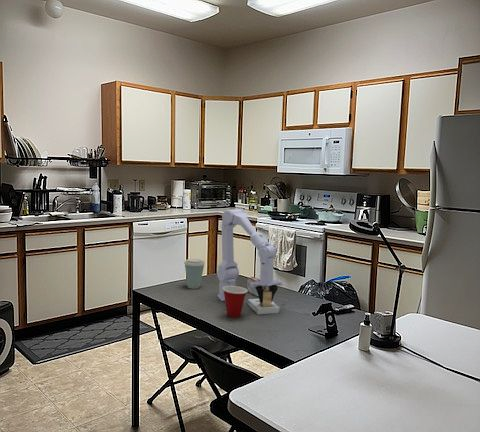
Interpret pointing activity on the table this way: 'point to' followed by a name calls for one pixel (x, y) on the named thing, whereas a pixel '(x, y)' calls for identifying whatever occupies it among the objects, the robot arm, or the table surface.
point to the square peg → (266, 298)
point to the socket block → (262, 310)
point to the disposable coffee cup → (194, 272)
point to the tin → (253, 289)
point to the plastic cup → (234, 300)
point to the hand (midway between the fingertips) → (265, 302)
